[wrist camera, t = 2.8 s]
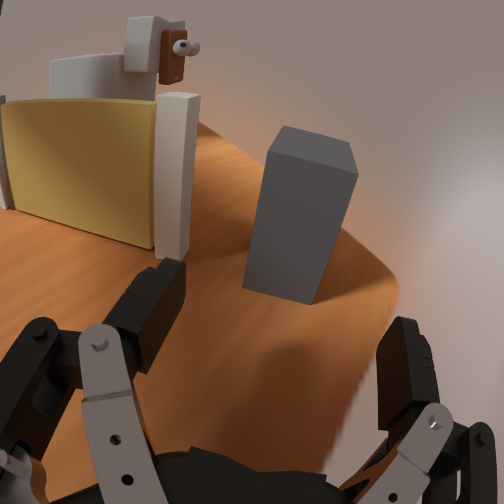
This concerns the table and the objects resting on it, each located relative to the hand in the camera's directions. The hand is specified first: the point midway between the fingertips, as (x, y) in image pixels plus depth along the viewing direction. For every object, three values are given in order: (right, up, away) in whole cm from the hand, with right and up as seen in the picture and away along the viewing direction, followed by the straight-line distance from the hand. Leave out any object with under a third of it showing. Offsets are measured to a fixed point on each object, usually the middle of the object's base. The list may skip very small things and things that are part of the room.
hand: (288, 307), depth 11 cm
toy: (-25, +24, +37) cm, 50 cm away
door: (-17, +5, +14) cm, 22 cm away
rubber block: (+1, +1, +13) cm, 13 cm away
